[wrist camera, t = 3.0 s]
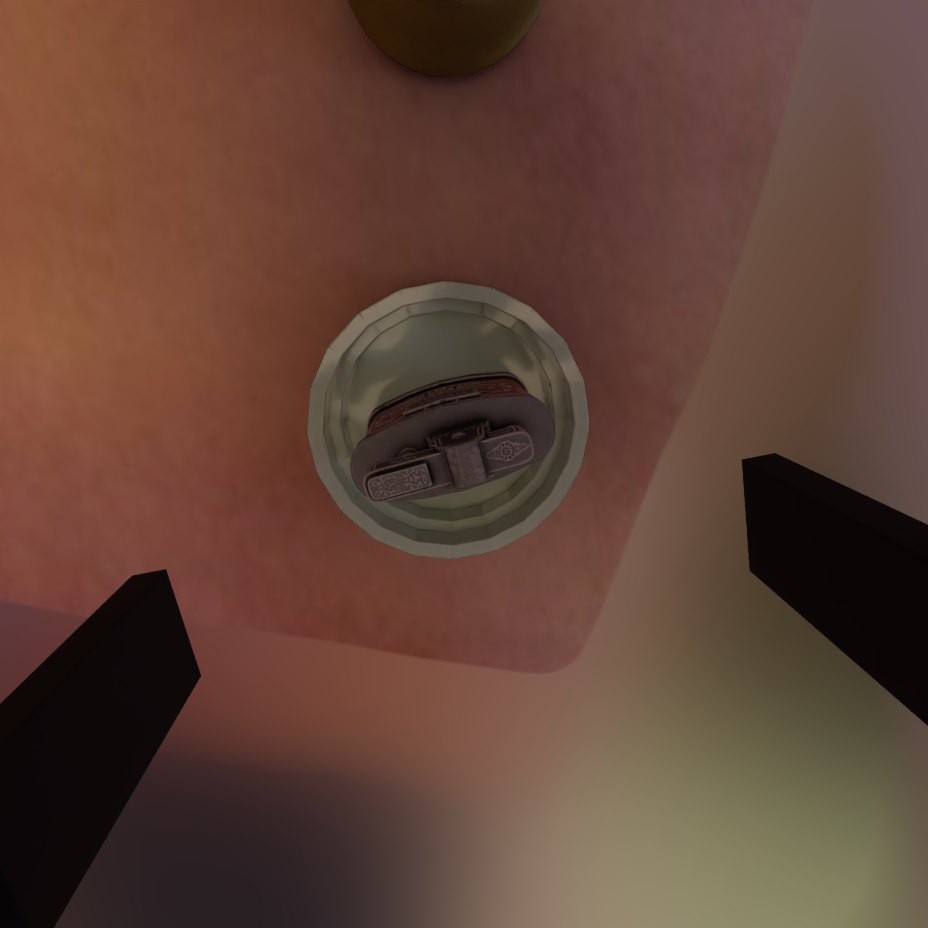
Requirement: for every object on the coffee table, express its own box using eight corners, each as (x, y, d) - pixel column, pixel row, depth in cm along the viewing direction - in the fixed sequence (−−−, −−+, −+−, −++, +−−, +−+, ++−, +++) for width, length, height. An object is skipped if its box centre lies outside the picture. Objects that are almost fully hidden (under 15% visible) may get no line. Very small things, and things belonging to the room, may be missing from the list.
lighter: (518, 358, 32) (557, 389, 22) (534, 424, 33) (579, 482, 23) (358, 402, 32) (327, 453, 22) (379, 467, 33) (358, 542, 23)
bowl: (551, 260, 31) (568, 257, 27) (585, 503, 34) (604, 530, 31) (294, 309, 31) (276, 312, 27) (353, 547, 34) (343, 580, 31)
